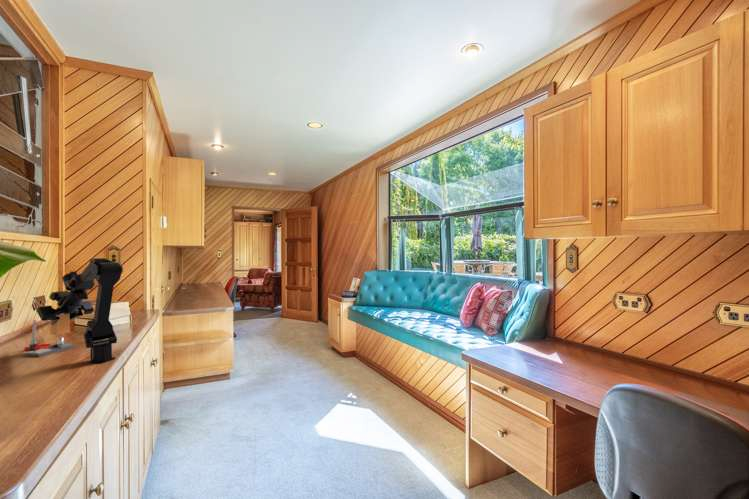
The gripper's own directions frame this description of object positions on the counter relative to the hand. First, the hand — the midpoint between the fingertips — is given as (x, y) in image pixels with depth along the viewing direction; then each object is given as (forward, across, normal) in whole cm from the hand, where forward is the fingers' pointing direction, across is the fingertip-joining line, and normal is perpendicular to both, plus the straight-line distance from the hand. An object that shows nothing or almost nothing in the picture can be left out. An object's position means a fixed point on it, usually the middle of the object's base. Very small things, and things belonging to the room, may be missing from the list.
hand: (58, 322), depth 153 cm
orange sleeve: (+2, 0, +4) cm, 5 cm away
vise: (+7, +4, +10) cm, 12 cm away
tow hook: (+15, +1, +2) cm, 15 cm away
